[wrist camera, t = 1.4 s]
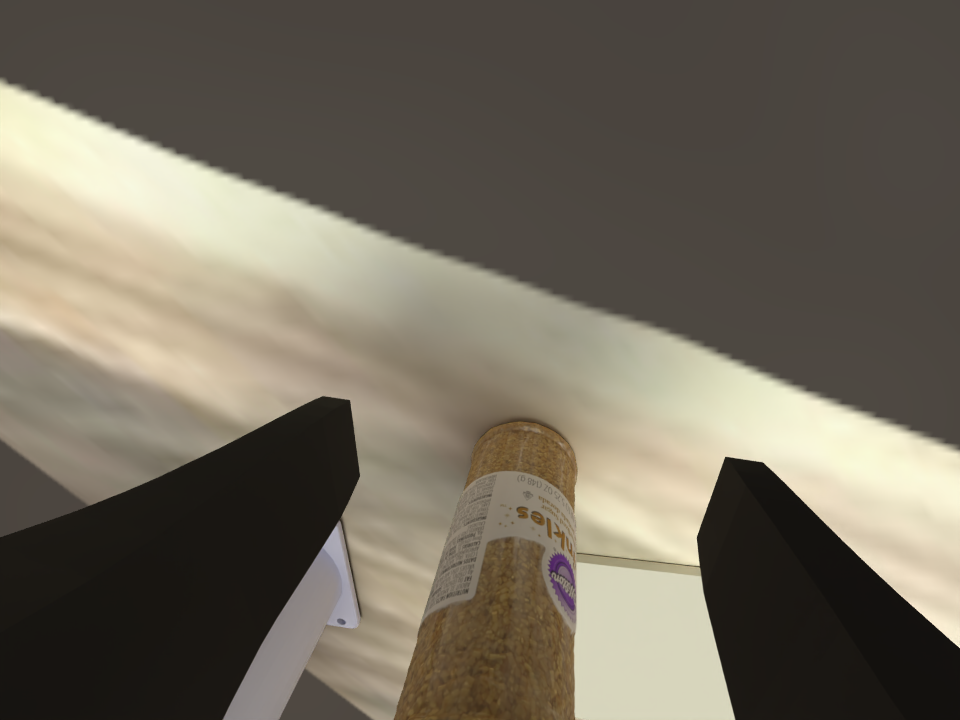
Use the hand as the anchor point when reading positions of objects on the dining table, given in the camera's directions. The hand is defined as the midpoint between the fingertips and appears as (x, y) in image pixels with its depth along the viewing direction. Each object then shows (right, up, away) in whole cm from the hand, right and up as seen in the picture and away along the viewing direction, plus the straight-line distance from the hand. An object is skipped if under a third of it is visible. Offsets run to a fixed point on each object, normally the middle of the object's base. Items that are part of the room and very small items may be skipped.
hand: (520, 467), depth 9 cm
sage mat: (+8, -13, +14) cm, 21 cm away
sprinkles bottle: (+1, -2, +11) cm, 11 cm away
